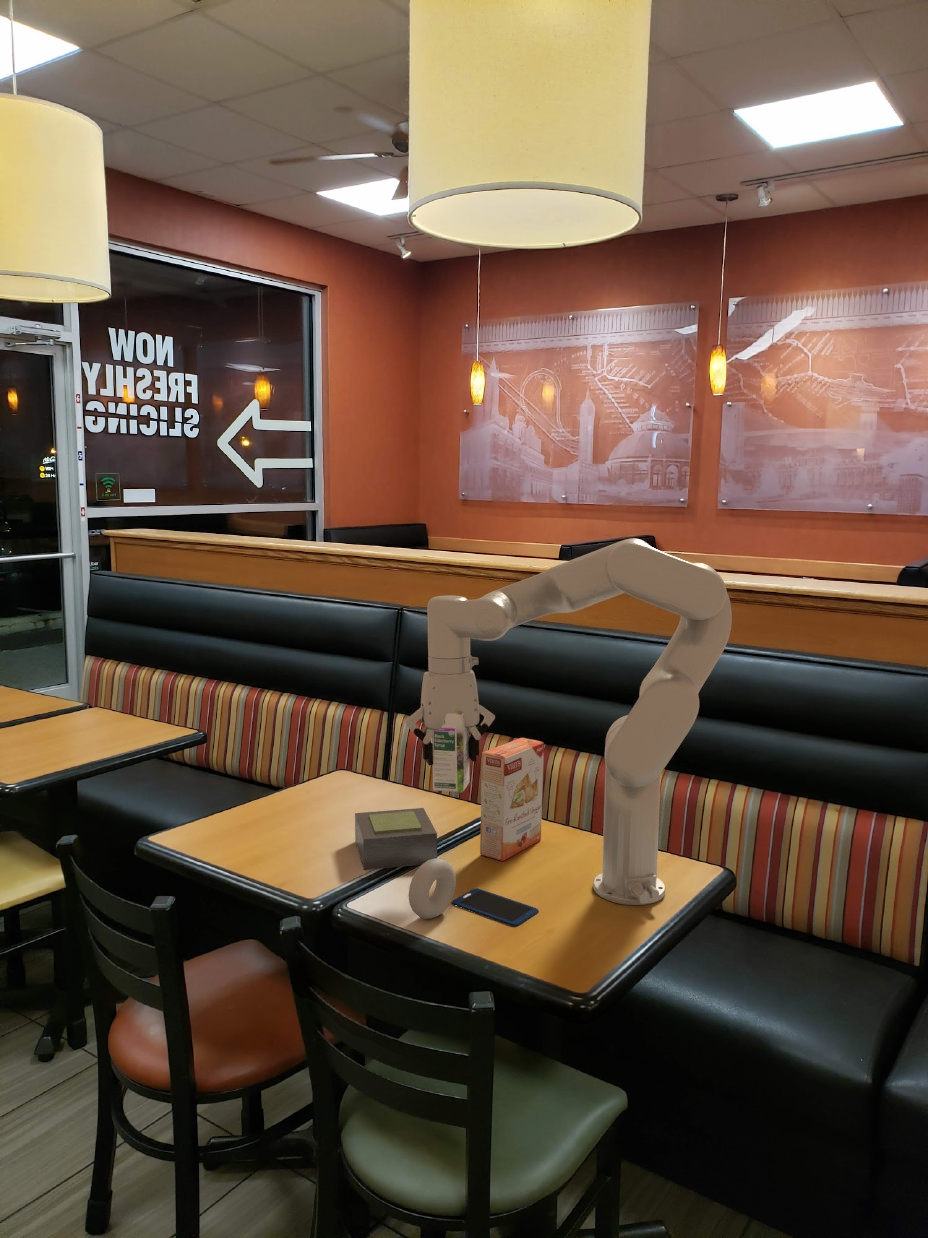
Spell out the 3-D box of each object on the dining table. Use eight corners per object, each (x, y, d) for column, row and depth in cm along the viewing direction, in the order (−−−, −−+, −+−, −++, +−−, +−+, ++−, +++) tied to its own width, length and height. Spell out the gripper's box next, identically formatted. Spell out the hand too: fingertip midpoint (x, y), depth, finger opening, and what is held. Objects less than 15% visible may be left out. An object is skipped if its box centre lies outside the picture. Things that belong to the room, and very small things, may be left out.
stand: (437, 863, 173) (437, 831, 172) (363, 870, 169) (363, 837, 168) (423, 835, 186) (423, 806, 185) (355, 841, 183) (354, 811, 182)
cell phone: (475, 891, 162) (475, 887, 162) (540, 913, 153) (540, 909, 153) (449, 905, 156) (449, 901, 156) (516, 929, 148) (516, 925, 147)
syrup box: (431, 791, 162) (430, 712, 160) (440, 781, 168) (439, 704, 166) (462, 793, 161) (461, 713, 159) (470, 782, 167) (469, 705, 165)
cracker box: (504, 863, 173) (505, 757, 170) (478, 855, 176) (479, 751, 173) (543, 840, 184) (545, 740, 181) (518, 833, 187) (520, 735, 184)
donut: (419, 931, 146) (419, 872, 145) (404, 924, 149) (403, 866, 147) (460, 909, 154) (460, 853, 152) (445, 903, 156) (445, 848, 155)
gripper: (491, 658, 167) (492, 752, 169) (397, 664, 163) (400, 759, 165) (502, 666, 160) (503, 763, 162) (404, 672, 156) (407, 771, 158)
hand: (451, 760), depth 164 cm, fingers closed on syrup box, 7 cm apart
